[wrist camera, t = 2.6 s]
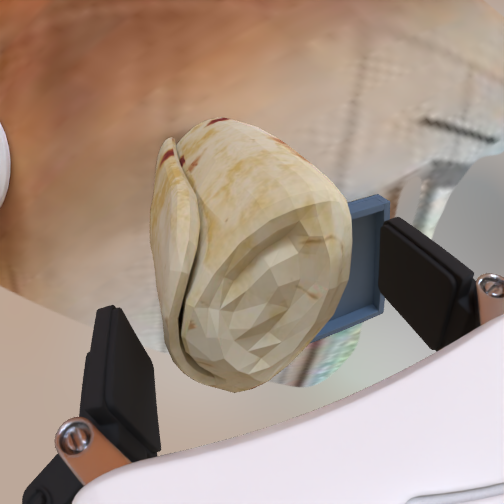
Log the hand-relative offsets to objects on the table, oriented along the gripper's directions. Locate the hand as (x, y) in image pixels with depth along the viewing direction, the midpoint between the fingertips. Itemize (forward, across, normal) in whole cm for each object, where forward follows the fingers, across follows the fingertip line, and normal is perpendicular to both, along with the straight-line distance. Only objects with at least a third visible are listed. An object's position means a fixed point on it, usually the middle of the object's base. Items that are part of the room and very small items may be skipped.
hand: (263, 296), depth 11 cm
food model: (+18, 0, 0) cm, 19 cm away
